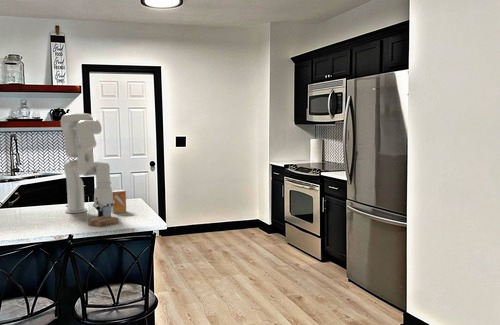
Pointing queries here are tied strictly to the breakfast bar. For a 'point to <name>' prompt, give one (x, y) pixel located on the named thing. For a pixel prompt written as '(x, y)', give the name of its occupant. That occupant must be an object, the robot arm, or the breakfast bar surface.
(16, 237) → the breakfast bar surface
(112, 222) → the walnut slab
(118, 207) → the small box
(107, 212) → the blue block
